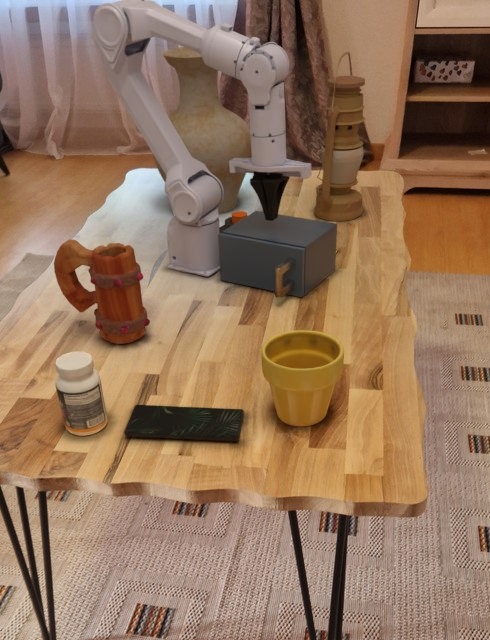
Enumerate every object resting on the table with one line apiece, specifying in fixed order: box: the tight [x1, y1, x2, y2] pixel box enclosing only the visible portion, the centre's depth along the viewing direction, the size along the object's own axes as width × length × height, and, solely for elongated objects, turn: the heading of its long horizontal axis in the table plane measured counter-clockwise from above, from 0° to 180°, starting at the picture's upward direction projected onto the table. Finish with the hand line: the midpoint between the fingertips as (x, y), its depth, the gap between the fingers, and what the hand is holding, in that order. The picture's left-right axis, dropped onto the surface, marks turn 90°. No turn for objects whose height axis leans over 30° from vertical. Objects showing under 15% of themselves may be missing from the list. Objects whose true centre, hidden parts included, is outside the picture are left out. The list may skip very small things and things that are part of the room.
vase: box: [152, 46, 252, 214], centre depth 155 cm, size 22×22×30 cm
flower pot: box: [260, 329, 345, 427], centre depth 94 cm, size 10×10×10 cm
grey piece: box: [218, 233, 305, 299], centre depth 125 cm, size 6×17×8 cm, turn 58°
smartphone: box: [123, 404, 245, 442], centre depth 96 cm, size 7×1×15 cm
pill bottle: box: [54, 350, 108, 437], centre depth 95 cm, size 6×6×10 cm
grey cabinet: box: [222, 210, 338, 297], centre depth 130 cm, size 12×17×9 cm
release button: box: [231, 210, 248, 224], centre depth 147 cm, size 3×3×2 cm
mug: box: [53, 238, 151, 345], centre depth 113 cm, size 15×8×15 cm, turn 71°
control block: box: [219, 216, 234, 233], centre depth 148 cm, size 9×7×3 cm
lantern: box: [313, 50, 366, 222], centre depth 147 cm, size 15×10×30 cm
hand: (271, 218), depth 126 cm, fingers closed
